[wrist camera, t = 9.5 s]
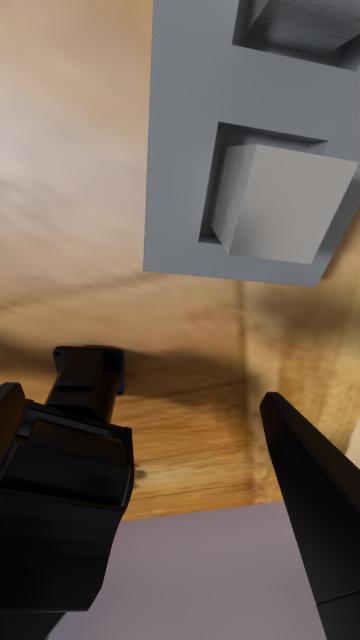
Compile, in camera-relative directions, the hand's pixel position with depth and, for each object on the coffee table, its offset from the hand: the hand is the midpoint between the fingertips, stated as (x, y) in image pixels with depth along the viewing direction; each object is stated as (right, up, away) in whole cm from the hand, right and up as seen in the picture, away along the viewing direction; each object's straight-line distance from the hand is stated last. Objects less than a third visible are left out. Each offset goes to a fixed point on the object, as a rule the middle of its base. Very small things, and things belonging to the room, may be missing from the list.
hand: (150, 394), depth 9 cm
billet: (+5, +11, +6) cm, 13 cm away
